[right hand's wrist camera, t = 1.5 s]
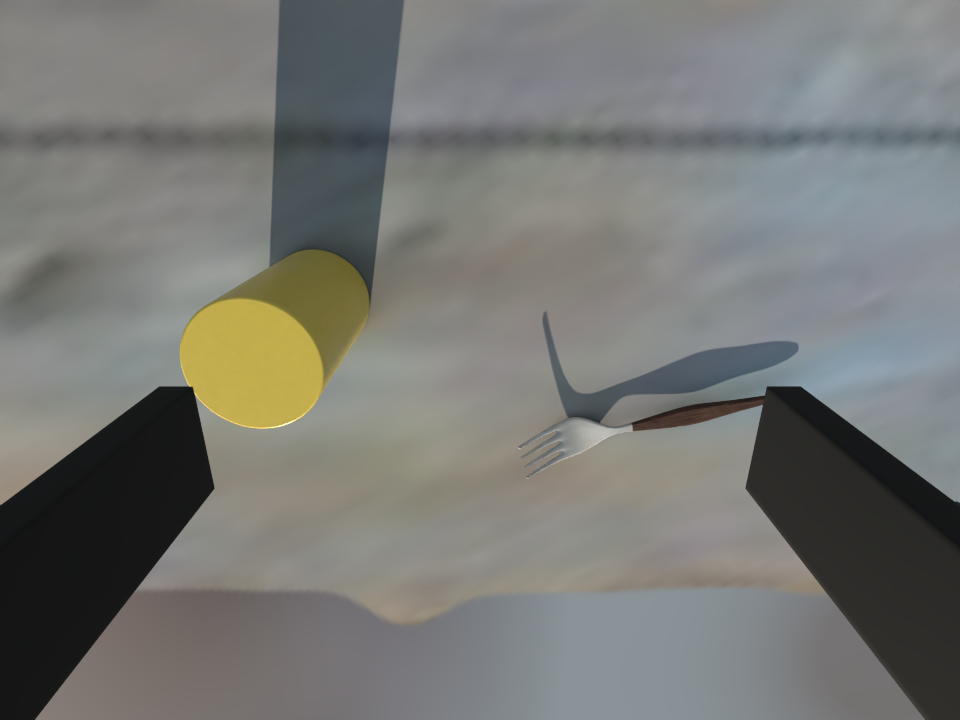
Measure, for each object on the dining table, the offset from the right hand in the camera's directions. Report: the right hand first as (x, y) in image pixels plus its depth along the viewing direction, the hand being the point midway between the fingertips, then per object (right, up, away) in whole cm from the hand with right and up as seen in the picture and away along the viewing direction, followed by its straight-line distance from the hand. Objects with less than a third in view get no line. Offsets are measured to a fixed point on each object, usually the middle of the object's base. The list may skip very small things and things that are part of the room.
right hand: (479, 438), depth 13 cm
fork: (+10, -2, +20) cm, 23 cm away
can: (-9, +5, +18) cm, 21 cm away
